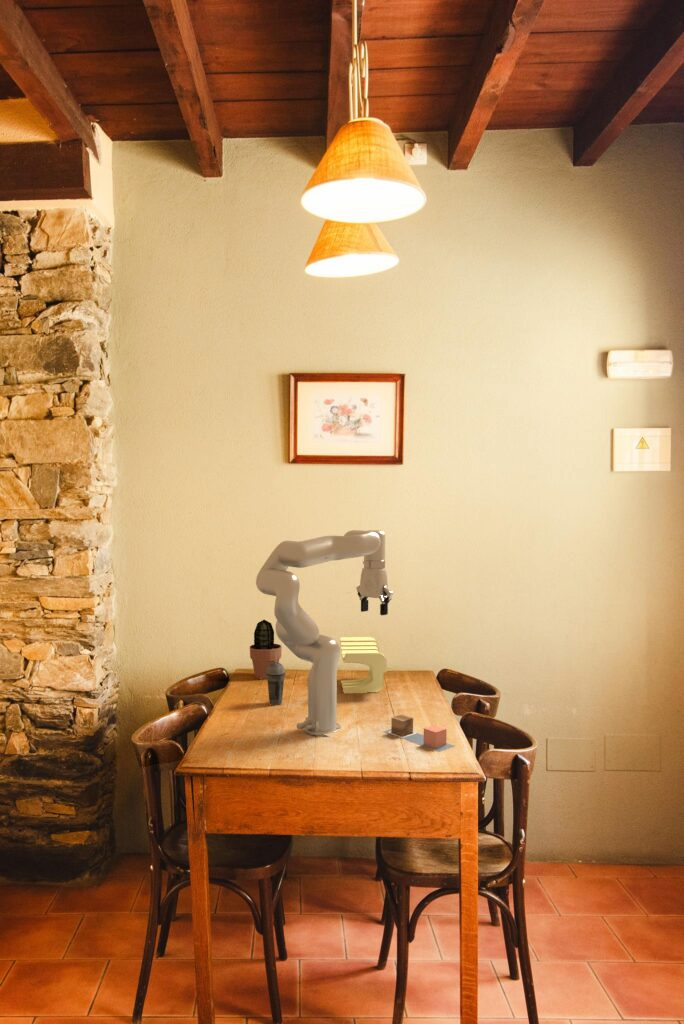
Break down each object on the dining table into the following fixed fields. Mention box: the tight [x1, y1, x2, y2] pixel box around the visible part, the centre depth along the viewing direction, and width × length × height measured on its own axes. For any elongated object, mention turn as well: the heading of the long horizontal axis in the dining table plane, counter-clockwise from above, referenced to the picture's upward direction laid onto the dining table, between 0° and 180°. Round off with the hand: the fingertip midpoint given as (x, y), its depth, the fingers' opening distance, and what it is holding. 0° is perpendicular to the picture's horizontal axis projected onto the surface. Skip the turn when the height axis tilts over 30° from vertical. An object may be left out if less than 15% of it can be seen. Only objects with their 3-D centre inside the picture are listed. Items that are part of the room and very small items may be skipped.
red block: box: [423, 724, 447, 748], centre depth 224 cm, size 5×5×5 cm
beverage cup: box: [266, 651, 286, 706], centre depth 269 cm, size 7×7×20 cm
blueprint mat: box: [383, 729, 455, 753], centre depth 229 cm, size 8×24×1 cm, turn 42°
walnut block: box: [390, 714, 414, 737], centre depth 235 cm, size 5×5×5 cm
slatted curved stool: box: [339, 636, 388, 694], centre depth 291 cm, size 30×16×18 cm, turn 4°
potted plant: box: [249, 619, 283, 680], centre depth 307 cm, size 14×14×25 cm
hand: (374, 613), depth 255 cm, fingers open, 9 cm apart
